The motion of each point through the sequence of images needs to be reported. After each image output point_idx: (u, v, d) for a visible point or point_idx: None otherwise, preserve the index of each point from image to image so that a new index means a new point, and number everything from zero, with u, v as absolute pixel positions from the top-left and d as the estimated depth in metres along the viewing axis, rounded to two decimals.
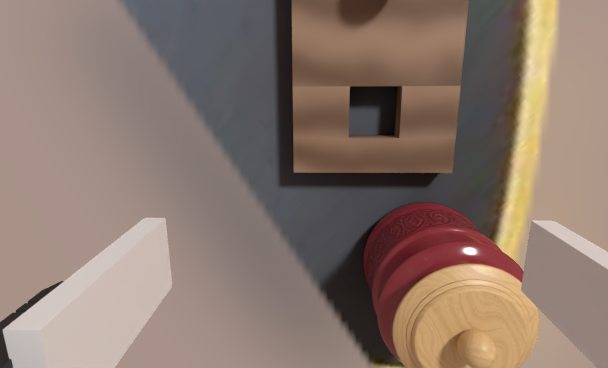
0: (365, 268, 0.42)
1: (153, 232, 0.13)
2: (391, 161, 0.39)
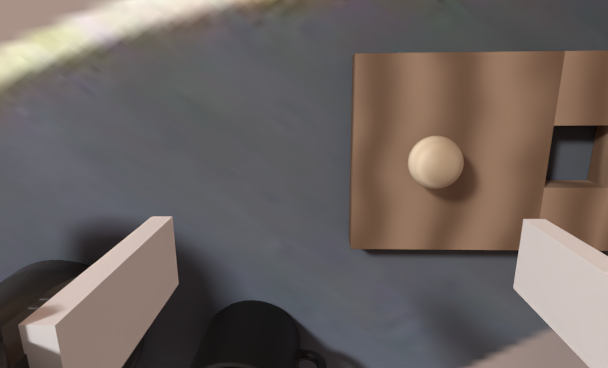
0: None
1: (160, 230, 0.13)
2: None
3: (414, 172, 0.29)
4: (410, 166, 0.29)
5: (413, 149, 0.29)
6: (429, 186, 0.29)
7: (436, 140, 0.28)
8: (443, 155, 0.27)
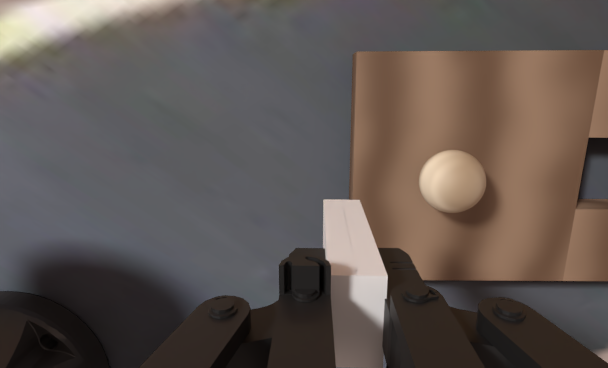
0: None
1: None
2: None
3: (427, 193, 0.24)
4: (422, 186, 0.24)
5: (426, 166, 0.24)
6: (445, 210, 0.24)
7: (454, 156, 0.23)
8: (464, 174, 0.23)
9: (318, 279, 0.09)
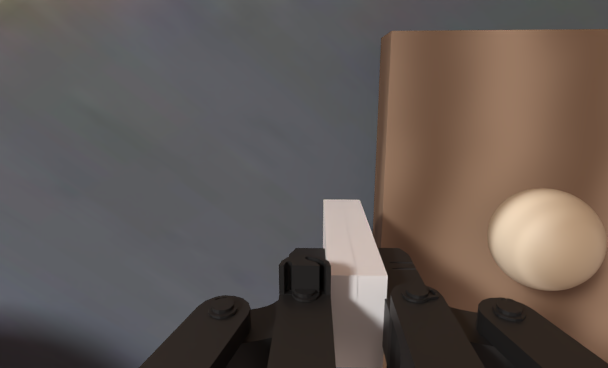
0: None
1: None
2: None
3: (507, 261, 0.15)
4: (498, 248, 0.15)
5: (503, 215, 0.15)
6: (537, 288, 0.15)
7: (555, 202, 0.14)
8: (576, 235, 0.13)
9: (318, 279, 0.09)
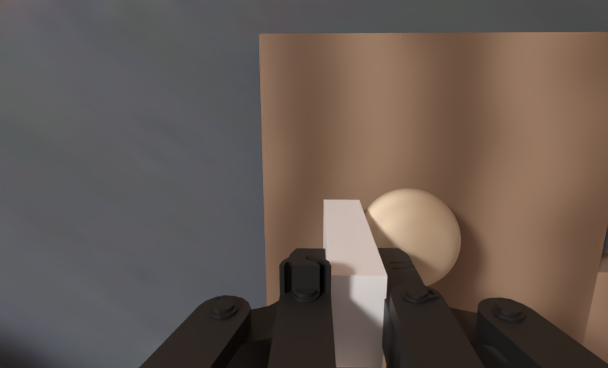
0: None
1: None
2: None
3: None
4: None
5: (366, 214, 0.15)
6: None
7: (408, 201, 0.14)
8: (422, 234, 0.14)
9: (318, 279, 0.09)
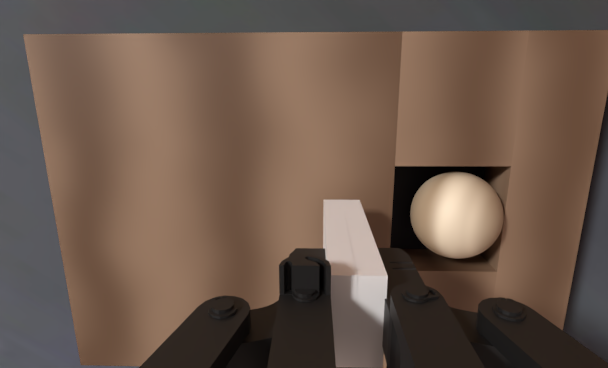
0: None
1: None
2: (563, 181, 0.17)
3: (457, 242, 0.16)
4: (446, 232, 0.16)
5: (444, 202, 0.16)
6: (470, 256, 0.17)
7: (476, 181, 0.17)
8: (499, 205, 0.17)
9: (318, 279, 0.09)
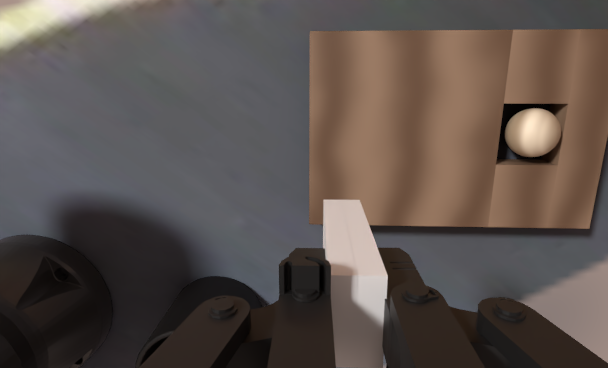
0: None
1: None
2: (596, 112, 0.31)
3: (534, 143, 0.30)
4: (528, 138, 0.30)
5: (527, 121, 0.30)
6: (540, 154, 0.31)
7: (545, 111, 0.31)
8: (558, 124, 0.30)
9: (318, 279, 0.09)
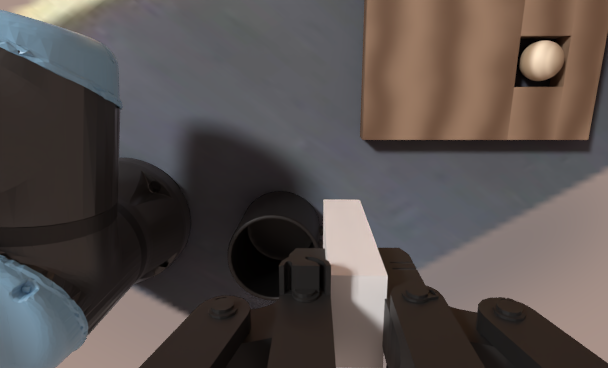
0: None
1: None
2: (593, 42, 0.39)
3: (541, 66, 0.39)
4: (536, 62, 0.39)
5: (536, 49, 0.39)
6: (547, 76, 0.39)
7: (551, 41, 0.39)
8: (561, 51, 0.38)
9: (318, 279, 0.09)
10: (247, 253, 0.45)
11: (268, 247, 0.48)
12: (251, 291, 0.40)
